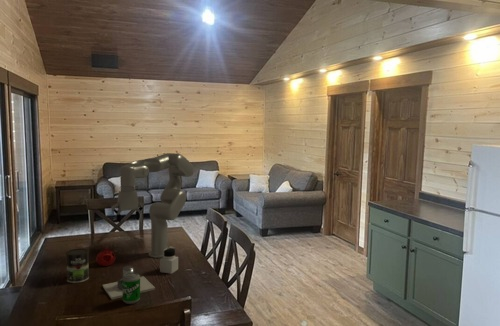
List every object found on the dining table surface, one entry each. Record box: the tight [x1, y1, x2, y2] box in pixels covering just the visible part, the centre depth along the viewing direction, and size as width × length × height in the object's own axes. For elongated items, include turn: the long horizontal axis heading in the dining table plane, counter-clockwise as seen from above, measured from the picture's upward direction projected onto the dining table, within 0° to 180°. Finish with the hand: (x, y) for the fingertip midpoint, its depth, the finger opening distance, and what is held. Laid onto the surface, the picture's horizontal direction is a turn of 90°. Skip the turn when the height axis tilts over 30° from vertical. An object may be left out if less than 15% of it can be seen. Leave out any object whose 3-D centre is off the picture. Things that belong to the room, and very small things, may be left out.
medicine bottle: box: [159, 248, 179, 275], centre depth 209 cm, size 7×7×12 cm
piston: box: [122, 265, 135, 277], centre depth 186 cm, size 5×5×9 cm
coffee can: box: [65, 248, 90, 284], centre depth 195 cm, size 10×10×14 cm
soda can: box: [121, 271, 141, 305], centre depth 172 cm, size 8×8×12 cm
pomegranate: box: [95, 247, 116, 267], centre depth 216 cm, size 10×10×9 cm
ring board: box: [102, 275, 156, 300], centre depth 186 cm, size 20×16×4 cm
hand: (128, 220), depth 209 cm, fingers open, 9 cm apart
